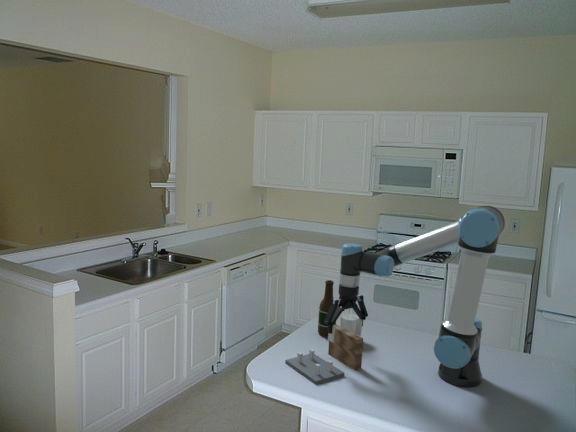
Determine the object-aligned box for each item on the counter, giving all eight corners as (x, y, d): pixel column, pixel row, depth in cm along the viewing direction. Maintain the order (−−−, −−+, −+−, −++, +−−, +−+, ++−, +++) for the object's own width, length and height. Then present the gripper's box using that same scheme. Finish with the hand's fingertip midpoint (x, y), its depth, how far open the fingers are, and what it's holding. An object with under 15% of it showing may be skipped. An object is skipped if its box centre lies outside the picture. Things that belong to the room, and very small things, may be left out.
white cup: (343, 343, 207) (344, 320, 205) (336, 335, 214) (337, 314, 213) (360, 341, 209) (362, 319, 207) (353, 334, 216) (354, 313, 215)
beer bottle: (316, 335, 213) (319, 282, 210) (319, 329, 221) (322, 277, 217) (333, 338, 212) (337, 284, 208) (336, 331, 219) (339, 279, 216)
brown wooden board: (361, 368, 184) (363, 338, 182) (353, 371, 182) (355, 340, 180) (334, 352, 197) (335, 324, 195) (326, 354, 195) (328, 325, 193)
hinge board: (344, 375, 177) (345, 363, 177) (315, 384, 170) (316, 371, 169) (312, 355, 193) (313, 344, 192) (285, 362, 186) (285, 351, 185)
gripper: (366, 278, 195) (362, 328, 198) (316, 285, 181) (312, 340, 185) (380, 283, 189) (375, 335, 192) (329, 291, 175) (325, 347, 178)
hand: (344, 337), depth 188 cm, fingers open, 13 cm apart
